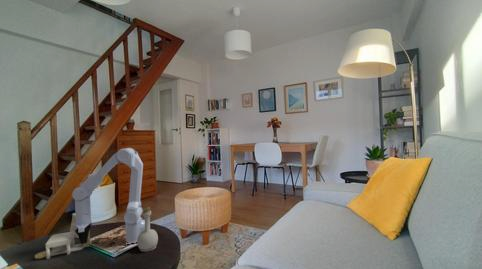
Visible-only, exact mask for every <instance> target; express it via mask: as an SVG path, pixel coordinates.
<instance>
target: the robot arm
mask: <svg viewBox="0 0 482 269" xmlns="http://www.w3.org/2000/svg"><path fill="white" fill-rule="evenodd" d="M121 163H122V164H124V165H126V166H128V167H129V168H130V169H131V170H130V171H131V172H130V182H129V195H128V203H127V207H126V212H125V213H124V215H123V220H124V222H125V238H126V241H127V242H131V243H132V242H137V239H138V236H139V234H140V233H141V232H142V231H144V230H145V219H143V218H142V217H141V216H142V215H143V213H142V212H144V209H143V207H142V201H141V194H142V183H143V182H142V181H143V174H144V173H143V171H144V163H143V161H142V160H141V157H140V156H139V152H138V151H136V150H135V149H134V148H132V147H126V148H120V149H118V151H117V152H116V153H114V154H113V155H111V157H110V158H109V159H108V160H107V161H106V162H105V163H104V164H103V166H101V167H100V169H99V170H98V171H97V172H92V173H90V174H88V175H87V178H86V179H85V181H83V182H81V183H79V187H76V188H74V189H73V191H72V193H71V197H72V198H73V200H74V206H75V211H74V213H75V214H76V223H73V226H76V227H77V229H76V230H75V232H76V233H77V235H78V237H79V238H78V240H79V242H80V243H79V244H85V243H87V239H88V233H89V230H91V229H92V228H91V227H92V226H93V224H92V222H93V221H92V213H91V212H92V209H91V195H92V194H93V192H94V191H95V190H96V189H97V188H98V187H99V186H100V185H101V184H102V182H104V177H105V176H106V175H107V174H108V173H109V172H110V171H111V170H112V169H113V168H114V167H116V165H119V164H121Z"/></svg>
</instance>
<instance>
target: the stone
mask: <svg viewBox="0 0 482 269" xmlns="http://www.w3.org/2000/svg"><path fill="white" fill-rule="evenodd" d="M71 217H72V219H71V223H70V229H69V232H71V231H74V239H79V237H78V235H77V233H76V232H75V230H76V229H77V227H76V226H73V223H76V214H75V212H74V213H71Z"/></svg>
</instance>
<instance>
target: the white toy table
mask: <svg viewBox="0 0 482 269" xmlns="http://www.w3.org/2000/svg"><path fill="white" fill-rule="evenodd" d="M71 245H75V238H74V231H71V232H70V231H67V232H63V233H55V234H52V235H51V236H50V237H49V239H48V240H47V242H46V243H45V251H46V257H45V258H46V260H49V259H51V256H50V252H51V250H52V249H57V248H62V247H66V246H67V253H66V255H71V252H70V246H71Z"/></svg>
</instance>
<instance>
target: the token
mask: <svg viewBox="0 0 482 269" xmlns="http://www.w3.org/2000/svg"><path fill="white" fill-rule="evenodd" d="M43 258H46V250H43V251H40V252H37V253H36V254H34V259H35V260H40V259H43Z"/></svg>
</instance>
